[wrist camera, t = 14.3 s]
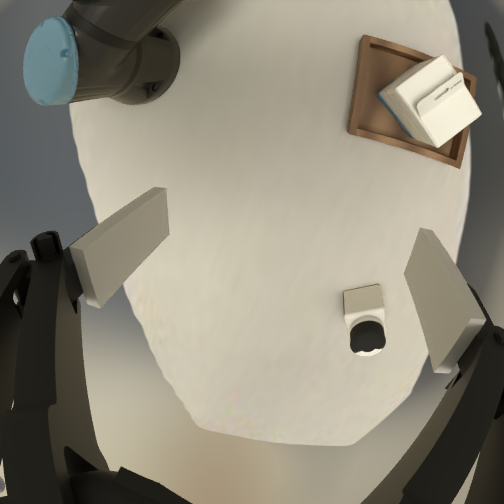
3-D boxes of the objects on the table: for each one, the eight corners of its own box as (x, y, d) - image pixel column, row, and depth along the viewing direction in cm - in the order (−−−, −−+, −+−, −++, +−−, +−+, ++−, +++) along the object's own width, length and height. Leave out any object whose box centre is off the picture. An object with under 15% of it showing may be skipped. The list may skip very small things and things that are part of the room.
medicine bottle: (342, 290, 52) (344, 336, 41) (379, 283, 49) (388, 328, 39) (348, 318, 54) (349, 363, 44) (382, 311, 52) (390, 357, 42)
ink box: (408, 138, 35) (442, 154, 24) (374, 93, 33) (397, 88, 22) (446, 109, 31) (491, 115, 20) (413, 63, 29) (449, 50, 18)
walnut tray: (346, 131, 38) (349, 133, 35) (360, 40, 30) (363, 34, 27) (449, 163, 36) (460, 169, 32) (465, 78, 28) (476, 77, 25)
